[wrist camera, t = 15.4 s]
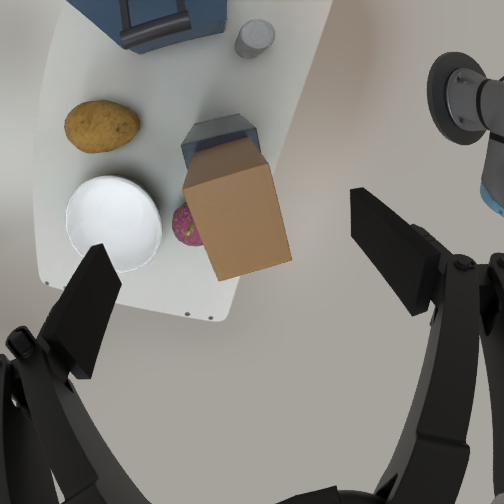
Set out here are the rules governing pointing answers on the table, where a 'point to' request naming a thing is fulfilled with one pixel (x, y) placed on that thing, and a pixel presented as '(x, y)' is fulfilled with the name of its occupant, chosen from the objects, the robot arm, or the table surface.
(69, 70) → the table surface
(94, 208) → the bowl
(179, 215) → the cupcake
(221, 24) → the chest
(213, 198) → the package
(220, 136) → the stand
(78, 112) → the potato
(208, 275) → the table surface
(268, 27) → the beverage can
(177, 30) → the lid
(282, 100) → the table surface
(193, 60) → the table surface
